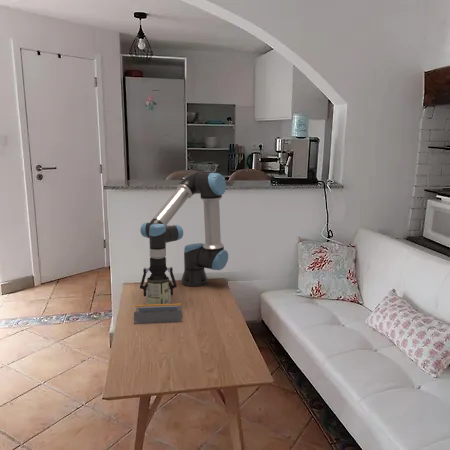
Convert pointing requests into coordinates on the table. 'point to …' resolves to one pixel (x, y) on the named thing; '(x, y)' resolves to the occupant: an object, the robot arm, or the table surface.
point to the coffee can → (158, 290)
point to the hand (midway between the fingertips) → (158, 302)
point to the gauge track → (158, 316)
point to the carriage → (157, 307)
